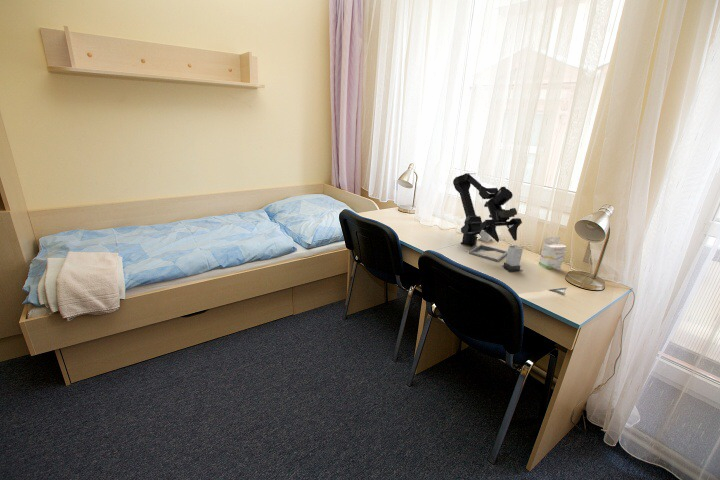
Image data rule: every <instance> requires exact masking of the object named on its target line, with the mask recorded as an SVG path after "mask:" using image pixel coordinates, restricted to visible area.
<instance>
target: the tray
mask: <svg viewBox="0 0 720 480" xmlns="http://www.w3.org/2000/svg"><path fill="white" fill-rule="evenodd" d="M493 251H496V252H499V253H503V254H501V255H500V256H499V257H498V258H496V257H495V258H494V257H493V256H492V257H491V256H488V255H485V254H481V252H483V253H484V252H493ZM507 253H508V250H503V249H500V248H496V247H492V246H488V245H485V244H478V245H476V246H474V248H472V249H471V250H470V251H469V252H468V254H470V255H473V256H477V257H481V258H484V259H487V260H490V261H494V262H497V263H498V262H500V261H501V260H502V259H503V258H505V256H506V257H507Z"/></svg>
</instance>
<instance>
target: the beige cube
mask: <svg viewBox="0 0 720 480" xmlns="http://www.w3.org/2000/svg"><path fill="white" fill-rule="evenodd" d="M479 235H480V236H481V238H480V240H479V241H481V242H486V243H488V242H490V241H491V240H492V239H493V238H492V237H491V236H490V235H489V234H488V233H486V232H484V230H481V232H480V234H479Z"/></svg>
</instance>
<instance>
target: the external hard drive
mask: <svg viewBox="0 0 720 480" xmlns="http://www.w3.org/2000/svg"><path fill="white" fill-rule="evenodd" d="M566 290H567V287H560V288H552V289H551V288H550V289H548V291H550V292H552V293H556V294H559V295H565V293H566Z"/></svg>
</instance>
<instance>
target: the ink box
mask: <svg viewBox="0 0 720 480" xmlns="http://www.w3.org/2000/svg"><path fill="white" fill-rule="evenodd" d="M560 239H561V237H560V236H546V237H545V238H544V243H543V244H542V248H541V252H540V253H541V254H540V257H539V261H538V266H540V267H542V268H544V269H546V270H547V269H556V270H557V271H561V269H562V265H563V262H564V258H565V254H566V251H567V249H568V248H567V247H568V246H567V245H564V244H562V243H560Z"/></svg>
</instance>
